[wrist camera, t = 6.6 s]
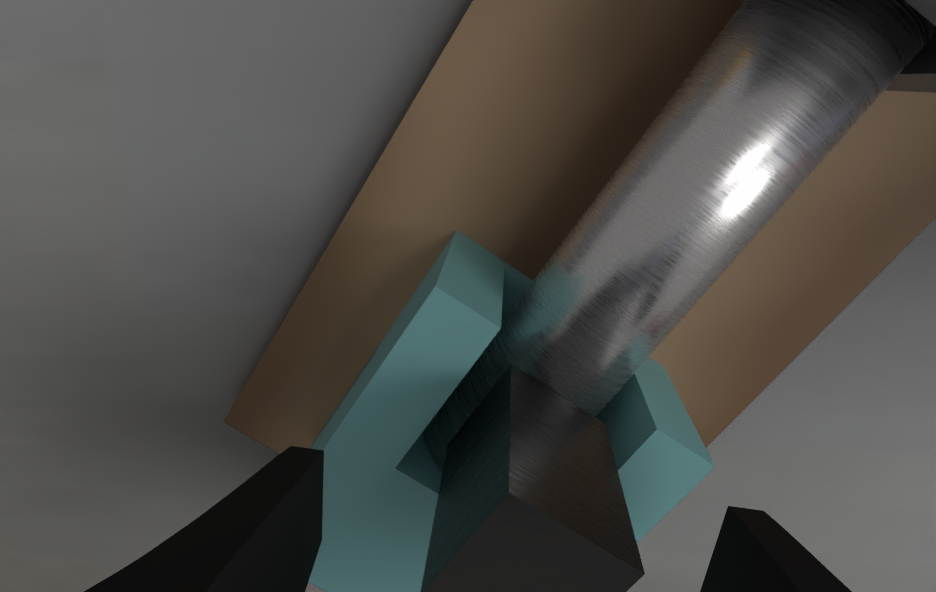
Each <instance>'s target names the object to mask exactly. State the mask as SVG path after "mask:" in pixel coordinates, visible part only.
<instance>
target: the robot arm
mask: <svg viewBox="0 0 936 592" xmlns="http://www.w3.org/2000/svg"><path fill="white" fill-rule="evenodd" d="M323 472H324V450H318V449H310V448H303V447H296V446H290V447H289V448H287V449H286V450H284V451H283V452H282V453H281V454H279V455H278V456H277V457H275V458H274V459H273V460H272V461H270V462H269V463H268V464H267V465H265V466H264V467H263V468H262V469H260V470H259V471H258V472H257V473H255V474H254V475H253V476H252V477H250V478H249V479H248V480H247V481H245V482H244V483H243V484H242V485H240V486H239V487H238V488H236V489H235V490H234V491H233V492H231V493H230V494H229V495H227V496H226V497H225V498H223V499H222V500H221V501H219V502H218V503H217V504H215V505H214V506H213V507H212V508H210V509H209V510H208V511H206V512H205V513H204V514H202V515H201V516H200V517H198V518H197V519H196V520H194V521H193V522H191V523H190V524H189V525H187V526H186V527H184V528H183V529H181V530H180V531H179V532H177V533H176V534H174V535H173V536H171V537H170V538H168V539H167V540H165V541H164V542H163V543H161V544H160V545H158V546H157V547H155V548H154V549H152V550H151V551H150V552H148V553H147V554H145V555H144V556H142V557H141V558H139V559H137V560H136V561H134V562H133V563H131V564H130V565H128V566H126V567H125V568H123V569H121V570H120V571H118V572H117V573H115V574H113V575H112V576H110V577H108V578H106V579H105V580H103V581H101V582H100V583H98V584H96V585H94V586H93V587H91V588H89V589H88V590H86V591H84V592H305V590H306V587H307V584H308V581H309V578H310V575H311V572H312V569H313V566H314V563H315V560H316V557H317V554H318V551H319V548H320V545H321V542H322V516H323ZM700 592H852V591H850V590H849V589H848V588H847V587H846V586H845V585H844V584H843V583H842V582H841V581H840V580H839V579H837V578H836V577H835V576H834V575H833V574H832V573H831V572H830V571H829V570H828V569H827V568H826V567H825V566H824V565H822V564H821V563H820V562H819V561H818V560H817V559H816V558H815V557H814V556H813V555H812V554H811V553H810V552H809V551H808V550H806V549H805V548H804V547H803V546H802V545H801V544H800V543H799V542H798V541H797V540H796V539H795V538H794V537H792V536H791V535H790V534H789V533H788V532H787V531H786V530H785V529H784V528H783V527H782V526H780V525H779V524H778V523H777V522H776V521H775V520H774V519H772V518H771V517H770V516H769V515H768V514H767V513H765V512H764V511H760V510H753V509H746V508H738V507H731V506H728V508H727V511H726V514H725V517H724V520H723V524H722V527H721V530H720V533H719V536H718V539H717V542H716V545H715V548H714V551H713V554H712V557H711V560H710V563H709V567H708V570H707V573H706V576H705V579H704V582H703V585H702V588H701V591H700Z"/></svg>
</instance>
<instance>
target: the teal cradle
mask: <svg viewBox="0 0 936 592" xmlns="http://www.w3.org/2000/svg"><path fill="white" fill-rule="evenodd" d="M532 282H533V280H532V279H530V278H529V277H527V276H526V275H524V274H523V273H521V272H520V271H518V270H517V269H515V268H514V267H512V266H511V265H509V264H508V263H506V262H505V261H503V260H502V259H500V258H499V257H497V256H496V255H494V254H493V253H491V252H490V251H488V250H487V249H485V248H483V247H482V246H480V245H479V244H477V243H476V242H474V241H473V240H471V239H470V238H468V237H467V236H465V235H464V234H462V233H461V232H459V231H458V230H456V232H455V233H454V235H453V236H452V238H451V239H450V241H449V242H448V244H447V245H446V247H445V248H444V250H443V251H442V253H441V254H440V255H439V257H438V258H437V260H436V261H435V263H434V264H433V266H432V267H431V269H430V270H429V272H428V273H427V275H426V276H425V278H424V279H423V281H422V282H421V284H420V285H419V287H418V288H417V290H416V291H415V293H414V294H413V296H412V297H411V298H410V300H409V301H408V303H407V304H406V306H405V307H404V309H403V310H402V312H401V313H400V315H399V316H398V318H397V319H396V321H395V322H394V324H393V325H392V327H391V328H390V330H389V331H388V333H387V334H386V336H385V337H384V338H383V340H382V341H381V343H380V344H379V346H378V347H377V349H376V350H375V352H374V353H373V355H372V356H371V358H370V359H369V361H368V362H367V364H366V365H365V367H364V368H363V370H362V371H361V373H360V374H359V376H358V377H357V378H356V380H355V381H354V383H353V384H352V386H351V387H350V389H349V390H348V392H347V393H346V395H345V396H344V398H343V399H342V401H341V402H340V404H339V405H338V407H337V408H336V410H335V411H334V413H333V414H332V416H331V417H330V418H329V420H328V421H327V423H326V424H325V426H324V427H323V429H322V430H321V432H320V433H319V435H318V436H317V438H316V439H315V441H314V442H313V444H312V446H311V448H310V449H318V450H324V472H323V516H322V542H321V545H320V548H319V551H318V554H317V557H316V560H315V563H314V566H313V569H312V572H311V575H310V578H309V581H308V582H309V583H311V584H313V585H315V586H317V587H318V588H320V589H322V590H324V591H326V592H421V586H422V581H423V575H424V570H425V564H426V559H427V554H428V548H429V543H430V537H431V532H432V526H433V521H434V515H435V510H436V505H437V499H438V494H439V488H440V483H441V477H442V472H443V469H442V468H441V467H440V465H439V464H438V463H437V461H436V460H435V458H434V456H433V454H432V452H431V450H430V448H429V446H428V443H427V439H426V427H427V425H428V424H429V423H430V421H431V420H432V419H433V417H434V416H435V415H436V413H437V412H438V411H439V410H440V408H441V407H442V406H443V404H444V403H445V402H446V400H447V399H448V398H449V396H450V395H451V394H452V392H453V391H454V390H455V388H456V387H457V386H458V384H459V383H460V382H461V380H462V379H463V378H464V376H465V375H466V374H467V373H468V371H469V370H470V369H471V367H472V366H473V365H474V363H475V362H476V361H477V359H478V358H479V357H480V355H481V354H482V353H483V351H484V350H485V349H486V347H487V346H488V345H489V343H490V342H491V341H492V339H493V338H494V337H495V336H496V334H497V333H498V332H499V330H500V329H501V323H502V322H503V320H504V319H505V318H506V316H507V315H508V314H509V312H510V311H511V310H512V308H513V307H514V306H515V304H516V303H517V302H518V300H519V299H520V298H521V296H522V295H523V294H524V292H525V291H526V290H527V288H528V287H529V286H530V284H531V283H532ZM596 418H597V419H599V420H601V421H602V422H604V423H605V424H606V428H607V432H608V435H609V439H610V443H611V447H612V451H613V455H614V458H615V462H616V466H617V470H618V474H619V478H620V481H621V485H622V489H623V493H624V497H625V501H626V504H627V508H628V512H629V516H630V520H631V524H632V527H633V531H634V535H635V539H636V543H638V542H639V541H640V540H641V539H642V538H643V537H644V536H645V535H646V534H647V533H648V532H649V531H650V530H651V529H652V528H653V527H654V526H655V525H656V524H657V523H658V522H659V521H660V520H661V519H662V518H663V517H664V516H665V515H666V514H667V513H668V512H669V511H670V510H671V509H672V508H673V507H674V506H675V505H676V504H677V503H678V502H679V501H680V500H681V499H682V498H684V497H685V496H686V495H687V494H688V493H689V492H690V491H691V490H692V489H693V488H694V487H695V486H696V485H697V484H698V483H699V482H700V481H701V480H702V479H703V478H704V477H705V476H706V475H707V474H708V473H709V472H710V471H711V470H712V469H713V468H714V467H715V465H714V463H713V461H712V459H711V457H710V455H709V453H708V451H707V449H706V448H705V446H704V444H703V442H702V440H701V438H700V436H699V434H698V432H697V430H696V428H695V426H694V424H693V422H692V420H691V418H690V416H689V414H688V412H687V411H686V409H685V407H684V405H683V403H682V401H681V399H680V397H679V395H678V393H677V391H676V389H675V387H674V385H673V383H672V381H671V379H670V377H669V376H668V374H667V372H666V370H665V368H664V367H663V366H662V365H660V364H658V363H657V362H655V361H654V360H652V359H651V358H649V357H648V358H647V360H646V361H645V362H644V363H643V364H642V365H641V366H640V367H639V369H638V370H637V371H636V372H635V373H634V374H633V375H632V377H631V378H630V379H629V380H628V381H627V382H626V383H625V384H624V386H623V387H622V388H621V389H620V390H619V391H618V392H617V393H616V395H615V396H614V397H613V398H612V399H611V400H610V401H609V403H608V404H607V405H606V406H605V407H604V408H603V409H602V410H601V412H600V413H599V414H598V415H597V416H596Z"/></svg>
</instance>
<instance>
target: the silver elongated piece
mask: <svg viewBox="0 0 936 592" xmlns="http://www.w3.org/2000/svg"><path fill="white" fill-rule="evenodd" d="M935 33H936V26H935V25H933V24H932V23H931V22H930V21H929V20H927V19H926V18H925V17H924V16H923V15H921V14H920V13H919V12H918V11H916V10H915V9H914V8H913V7H912V6H910V5H909V4H908V3H907V2H906V1H904V0H745V1H744V2H743V3H742V5H741V6H740V7H739V9H738V10H737V11H736V13H735V14H734V15H733V17H732V18H731V19H730V21H729V22H728V23H727V24H726V26H725V27H724V28H723V30H722V31H721V32H720V34H719V35H718V36H717V38H716V39H715V40H714V42H713V43H712V44H711V46H710V47H709V48H708V50H707V51H706V52H705V54H704V55H703V56H702V58H701V59H700V60H699V62H698V63H697V64H696V66H695V67H694V68H693V70H692V71H691V72H690V74H689V75H688V76H687V78H686V79H685V80H684V82H683V83H682V84H681V85H680V87H679V88H678V89H677V91H676V92H675V93H674V95H673V96H672V97H671V99H670V100H669V101H668V103H667V104H666V105H665V107H664V108H663V109H662V111H661V112H660V113H659V115H658V116H657V117H656V119H655V120H654V121H653V123H652V124H651V125H650V127H649V128H648V129H647V131H646V132H645V133H644V135H643V136H642V137H641V139H640V140H639V141H638V143H637V144H636V145H635V146H634V148H633V149H632V150H631V152H630V153H629V154H628V156H627V157H626V158H625V160H624V161H623V162H622V164H621V165H620V166H619V168H618V169H617V170H616V172H615V173H614V174H613V176H612V177H611V178H610V180H609V181H608V182H607V184H606V185H605V186H604V188H603V189H602V190H601V192H600V193H599V194H598V196H597V197H596V198H595V200H594V201H593V202H592V204H591V205H590V206H589V207H588V209H587V210H586V211H585V213H584V214H583V215H582V217H581V218H580V219H579V221H578V222H577V223H576V225H575V226H574V227H573V229H572V230H571V231H570V233H569V234H568V235H567V237H566V238H565V239H564V241H563V242H562V243H561V245H560V246H559V247H558V249H557V250H556V251H555V253H554V254H553V255H552V257H551V258H550V259H549V261H548V262H547V263H546V265H545V266H544V267H543V268H542V270H541V271H540V272H539V274H538V275H537V276H536V278H535V279H534V280H533V282H532V283H531V284H530V286H529V287H528V288H527V290H526V291H525V292H524V294H523V295H522V296H521V298H520V299H519V300H518V302H517V303H516V304H515V306H514V307H513V308H512V310H511V311H510V312H509V314H508V315H507V316H506V318H505V319H504V320H503V322H502V323H501V329H500V330H499V332H498V333H497V334H496V336H495V337H494V338H493V339H492V341H491V342H490V343H489V345H488V346H487V347H486V349H485V350H484V351H483V353H482V354H481V355H480V357H479V358H478V359H477V361H476V362H475V363H474V365H473V366H472V367H471V369H470V370H469V371H468V373H467V374H466V375H465V376H464V378H463V379H462V380H461V382H460V383H459V384H458V386H457V387H456V388H455V390H454V391H453V392H452V394H451V395H450V396H449V398H448V399H447V400H446V402H445V403H444V404H443V406H442V407H441V408H440V410H439V411H438V412H437V413H436V415H435V416H434V417H433V419H432V420H431V421H430V423H429V424H428V425H427V427H426V439H427V443H428V446H429V448H430V450H431V452H432V454H433V456H434V458H435V460H436V461H437V463H438V464H439V465H440V467H441V468H442V469H443V472H442V477H441V483H440V488H439V494H438V499H437V505H436V510H435V515H434V521H433V526H432V532H431V537H430V543H429V548H428V554H427V559H426V564H425V570H424V575H423V581H422V586H421V592H626V591H627V590H628V589H629V588H630V587H631V586H633V585H634V584H635V583H636V582H637V581H638V580H639V579H640V578H641V577H642V576H643V575H644V574H645V573H644V570H643V566H642V562H641V558H640V554H639V550H638V547H637V543H636V539H635V535H634V531H633V527H632V524H631V520H630V516H629V512H628V508H627V504H626V501H625V497H624V493H623V489H622V485H621V481H620V478H619V474H618V470H617V466H616V462H615V458H614V455H613V451H612V447H611V443H610V439H609V435H608V432H607V428H606V424H605V423H604V422H602V421H601V420H599V419H597V418H596V416H597V415H598V414H599V413H600V412H601V410H602V409H603V408H604V407H605V406H606V405H607V404H608V403H609V401H610V400H611V399H612V398H613V397H614V396H615V395H616V393H617V392H618V391H619V390H620V389H621V388H622V387H623V386H624V384H625V383H626V382H627V381H628V380H629V379H630V378H631V377H632V375H633V374H634V373H635V372H636V371H637V370H638V369H639V367H640V366H641V365H642V364H643V363H644V362H645V361H646V360H647V358H648V357H649V356H650V355H651V354H652V353H653V352H654V351H655V349H656V348H657V347H658V346H659V345H660V344H661V343H662V342H663V340H664V339H665V338H666V337H667V336H668V335H669V334H670V332H671V331H672V330H673V329H674V328H675V327H676V326H677V325H678V323H679V322H680V321H681V320H682V319H683V318H684V317H685V316H686V314H687V313H688V312H689V311H690V310H691V309H692V308H693V306H694V305H695V304H696V303H697V302H698V301H699V300H700V299H701V297H702V296H703V295H704V294H705V293H706V292H707V291H708V290H709V288H710V287H711V286H712V285H713V284H714V283H715V282H716V280H717V279H718V278H719V277H720V276H721V275H722V274H723V273H724V271H725V270H726V269H727V268H728V267H729V266H730V265H731V264H732V262H733V261H734V260H735V259H736V258H737V257H738V256H739V255H740V253H741V252H742V251H743V250H744V249H745V248H746V247H747V245H748V244H749V243H750V242H751V241H752V240H753V239H754V238H755V236H756V235H757V234H758V233H759V232H760V231H761V230H762V229H763V227H764V226H765V225H766V224H767V223H768V222H769V221H770V219H771V218H772V217H773V216H774V215H775V214H776V213H777V212H778V210H779V209H780V208H781V207H782V206H783V205H784V204H785V203H786V201H787V200H788V199H789V198H790V197H791V196H792V195H793V193H794V192H795V191H796V190H797V189H798V188H799V187H800V186H801V184H802V183H803V182H804V181H805V180H806V179H807V178H808V177H809V175H810V174H811V173H812V172H813V171H814V170H815V169H816V167H817V166H818V165H819V164H820V163H821V162H822V161H823V160H824V158H825V157H826V156H827V155H828V154H829V153H830V152H831V151H832V149H833V148H834V147H835V146H836V145H837V144H838V143H839V142H840V140H841V139H842V138H843V137H844V136H845V135H846V134H847V132H848V131H849V130H850V129H851V128H852V127H853V126H854V125H855V123H856V122H857V121H858V120H859V119H860V118H861V117H862V116H863V114H864V113H865V112H866V111H867V110H868V109H869V108H870V106H871V105H872V104H873V103H874V102H875V101H876V100H877V99H878V97H879V96H880V95H881V94H882V93H883V92H884V91H885V90H886V88H887V87H888V86H889V85H890V84H891V83H892V82H893V80H894V79H895V78H896V77H897V76H898V75H899V74H900V73H901V71H902V70H903V69H904V68H905V67H906V66H907V65H908V64H909V62H910V61H911V60H912V59H913V58H914V57H915V56H916V54H917V53H918V52H919V51H920V50H921V49H922V48H923V47H924V45H925V44H926V43H927V42H928V41H929V40H930V39H931V38H932V36H933V35H934V34H935Z"/></svg>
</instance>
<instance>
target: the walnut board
mask: <svg viewBox="0 0 936 592" xmlns="http://www.w3.org/2000/svg"><path fill="white" fill-rule="evenodd" d="M744 1H745V0H473V1H472V3H471V5H470V6H469V8H468V10H467V11H466V13H465V15H464V16H463V18H462V20H461V21H460V23H459V25H458V27H457V28H456V30H455V32H454V33H453V35H452V37H451V38H450V40H449V42H448V43H447V45H446V47H445V48H444V50H443V52H442V54H441V55H440V57H439V59H438V60H437V62H436V64H435V65H434V67H433V69H432V70H431V72H430V74H429V75H428V77H427V79H426V81H425V82H424V84H423V86H422V87H421V89H420V91H419V92H418V94H417V96H416V97H415V99H414V101H413V103H412V104H411V106H410V108H409V109H408V111H407V113H406V114H405V116H404V118H403V119H402V121H401V123H400V124H399V126H398V128H397V130H396V131H395V133H394V135H393V136H392V138H391V140H390V141H389V143H388V145H387V146H386V148H385V150H384V151H383V153H382V155H381V157H380V158H379V160H378V162H377V163H376V165H375V167H374V168H373V170H372V172H371V173H370V175H369V177H368V178H367V180H366V182H365V184H364V185H363V187H362V189H361V190H360V192H359V194H358V195H357V197H356V199H355V200H354V202H353V204H352V206H351V207H350V209H349V211H348V212H347V214H346V216H345V217H344V219H343V221H342V222H341V224H340V226H339V227H338V229H337V231H336V233H335V234H334V236H333V238H332V239H331V241H330V243H329V244H328V246H327V248H326V249H325V251H324V253H323V254H322V256H321V258H320V260H319V261H318V263H317V265H316V266H315V268H314V270H313V271H312V273H311V275H310V276H309V278H308V280H307V281H306V283H305V285H304V287H303V288H302V290H301V292H300V293H299V295H298V297H297V298H296V300H295V302H294V303H293V305H292V307H291V309H290V310H289V312H288V314H287V315H286V317H285V319H284V320H283V322H282V324H281V325H280V327H279V329H278V330H277V332H276V334H275V336H274V337H273V339H272V341H271V342H270V344H269V346H268V347H267V349H266V351H265V352H264V354H263V356H262V357H261V359H260V361H259V363H258V364H257V366H256V368H255V369H254V371H253V373H252V374H251V376H250V378H249V379H248V381H247V383H246V384H245V386H244V388H243V390H242V391H241V393H240V395H239V396H238V398H237V400H236V401H235V403H234V405H233V406H232V408H231V410H230V412H229V413H228V415H227V417H226V418H225V420H224V422H225V423H226V424H228V425H230V426H231V427H233V428H235V429H237V430H238V431H240V432H242V433H244V434H245V435H247V436H249V437H251V438H252V439H254V440H256V441H258V442H259V443H261V444H263V445H265V446H266V447H268V448H270V449H271V450H273V451H275V452H277V453H278V454H281V453H282V452H283V451H284V450H286V449H287V448H289V447H290V446H296V447H303V448H311V446H312V444H313V442H314V441H315V439H316V438H317V436H318V435H319V433H320V432H321V430H322V429H323V427H324V426H325V424H326V423H327V421H328V420H329V418H330V417H331V416H332V414H333V413H334V411H335V410H336V408H337V407H338V405H339V404H340V402H341V401H342V399H343V398H344V396H345V395H346V393H347V392H348V390H349V389H350V387H351V386H352V384H353V383H354V381H355V380H356V378H357V377H358V376H359V374H360V373H361V371H362V370H363V368H364V367H365V365H366V364H367V362H368V361H369V359H370V358H371V356H372V355H373V353H374V352H375V350H376V349H377V347H378V346H379V344H380V343H381V341H382V340H383V338H384V337H385V336H386V334H387V333H388V331H389V330H390V328H391V327H392V325H393V324H394V322H395V321H396V319H397V318H398V316H399V315H400V313H401V312H402V310H403V309H404V307H405V306H406V304H407V303H408V301H409V300H410V298H411V297H412V296H413V294H414V293H415V291H416V290H417V288H418V287H419V285H420V284H421V282H422V281H423V279H424V278H425V276H426V275H427V273H428V272H429V270H430V269H431V267H432V266H433V264H434V263H435V261H436V260H437V258H438V257H439V255H440V254H441V253H442V251H443V250H444V248H445V247H446V245H447V244H448V242H449V241H450V239H451V238H452V236H453V235H454V233H455V232H456V230H458V231H459V232H461V233H462V234H464V235H465V236H467V237H468V238H470V239H471V240H473V241H474V242H476V243H477V244H479V245H480V246H482V247H483V248H485V249H487V250H488V251H490V252H491V253H493V254H494V255H496V256H497V257H499V258H500V259H502V260H503V261H505V262H506V263H508V264H509V265H511V266H512V267H514V268H515V269H517V270H518V271H520V272H521V273H523V274H524V275H526V276H527V277H529V278H530V279H532V280H534V279H535V278H536V276H537V275H538V274H539V272H540V271H541V270H542V268H543V267H544V266H545V265H546V263H547V262H548V261H549V259H550V258H551V257H552V255H553V254H554V253H555V251H556V250H557V249H558V247H559V246H560V245H561V243H562V242H563V241H564V239H565V238H566V237H567V235H568V234H569V233H570V231H571V230H572V229H573V227H574V226H575V225H576V223H577V222H578V221H579V219H580V218H581V217H582V215H583V214H584V213H585V211H586V210H587V209H588V207H589V206H590V205H591V204H592V202H593V201H594V200H595V198H596V197H597V196H598V194H599V193H600V192H601V190H602V189H603V188H604V186H605V185H606V184H607V182H608V181H609V180H610V178H611V177H612V176H613V174H614V173H615V172H616V170H617V169H618V168H619V166H620V165H621V164H622V162H623V161H624V160H625V158H626V157H627V156H628V154H629V153H630V152H631V150H632V149H633V148H634V146H635V145H636V144H637V143H638V141H639V140H640V139H641V137H642V136H643V135H644V133H645V132H646V131H647V129H648V128H649V127H650V125H651V124H652V123H653V121H654V120H655V119H656V117H657V116H658V115H659V113H660V112H661V111H662V109H663V108H664V107H665V105H666V104H667V103H668V101H669V100H670V99H671V97H672V96H673V95H674V93H675V92H676V91H677V89H678V88H679V87H680V85H681V84H682V83H683V82H684V80H685V79H686V78H687V76H688V75H689V74H690V72H691V71H692V70H693V68H694V67H695V66H696V64H697V63H698V62H699V60H700V59H701V58H702V56H703V55H704V54H705V52H706V51H707V50H708V48H709V47H710V46H711V44H712V43H713V42H714V40H715V39H716V38H717V36H718V35H719V34H720V32H721V31H722V30H723V28H724V27H725V26H726V24H727V23H728V22H729V21H730V19H731V18H732V17H733V15H734V14H735V13H736V11H737V10H738V9H739V7H740V6H741V5H742V3H743V2H744ZM935 217H936V93H934V92H907V91H884V92H883V93H882V94H881V95H880V96H879V97H878V99H877V100H876V101H875V102H874V103H873V104H872V105H871V106H870V108H869V109H868V110H867V111H866V112H865V113H864V114H863V116H862V117H861V118H860V119H859V120H858V121H857V122H856V123H855V125H854V126H853V127H852V128H851V129H850V130H849V131H848V132H847V134H846V135H845V136H844V137H843V138H842V139H841V140H840V142H839V143H838V144H837V145H836V146H835V147H834V148H833V149H832V151H831V152H830V153H829V154H828V155H827V156H826V157H825V158H824V160H823V161H822V162H821V163H820V164H819V165H818V166H817V167H816V169H815V170H814V171H813V172H812V173H811V174H810V175H809V177H808V178H807V179H806V180H805V181H804V182H803V183H802V184H801V186H800V187H799V188H798V189H797V190H796V191H795V192H794V193H793V195H792V196H791V197H790V198H789V199H788V200H787V201H786V203H785V204H784V205H783V206H782V207H781V208H780V209H779V210H778V212H777V213H776V214H775V215H774V216H773V217H772V218H771V219H770V221H769V222H768V223H767V224H766V225H765V226H764V227H763V229H762V230H761V231H760V232H759V233H758V234H757V235H756V236H755V238H754V239H753V240H752V241H751V242H750V243H749V244H748V245H747V247H746V248H745V249H744V250H743V251H742V252H741V253H740V255H739V256H738V257H737V258H736V259H735V260H734V261H733V262H732V264H731V265H730V266H729V267H728V268H727V269H726V270H725V271H724V273H723V274H722V275H721V276H720V277H719V278H718V279H717V280H716V282H715V283H714V284H713V285H712V286H711V287H710V288H709V290H708V291H707V292H706V293H705V294H704V295H703V296H702V297H701V299H700V300H699V301H698V302H697V303H696V304H695V305H694V306H693V308H692V309H691V310H690V311H689V312H688V313H687V314H686V316H685V317H684V318H683V319H682V320H681V321H680V322H679V323H678V325H677V326H676V327H675V328H674V329H673V330H672V331H671V332H670V334H669V335H668V336H667V337H666V338H665V339H664V340H663V342H662V343H661V344H660V345H659V346H658V347H657V348H656V349H655V351H654V352H653V353H652V354H651V355H650V356H649V358H651V359H652V360H654V361H655V362H657V363H658V364H660V365H662V366H663V367H664V368H665V370H666V372H667V374H668V376H669V377H670V379H671V381H672V383H673V385H674V387H675V389H676V391H677V393H678V395H679V397H680V399H681V401H682V403H683V405H684V407H685V409H686V411H687V412H688V414H689V416H690V418H691V420H692V422H693V424H694V426H695V428H696V430H697V432H698V434H699V436H700V438H701V440H702V442H703V444H704V446H705V448H706V447H707V446H708V445H709V444H710V443H711V442H712V441H713V440H714V439H715V438H716V437H717V436H718V435H719V434H720V433H721V432H722V431H723V430H724V429H725V428H726V427H727V426H728V425H729V424H730V423H731V422H732V421H733V420H734V419H735V418H736V417H737V416H738V415H739V414H740V413H741V412H742V411H743V410H744V409H745V408H746V407H747V406H748V405H749V404H750V403H751V402H752V401H753V400H754V399H755V398H756V397H757V396H758V395H759V394H760V393H761V392H762V391H763V390H764V389H765V388H766V387H767V386H768V385H769V384H770V383H771V382H772V381H773V380H774V379H775V378H776V377H777V376H778V375H779V374H780V373H781V372H782V371H783V370H784V369H785V368H786V367H787V366H788V365H789V364H790V363H791V362H792V361H793V360H794V359H795V358H796V357H797V356H798V355H799V354H800V353H801V352H802V351H803V350H804V349H805V348H806V347H807V346H808V345H809V344H810V343H811V342H812V341H813V340H814V339H815V338H816V337H817V336H818V335H819V334H820V333H821V332H822V331H823V330H824V329H825V328H826V327H827V326H828V325H829V324H830V323H831V322H832V321H833V320H834V319H835V318H836V317H837V316H838V315H839V314H840V313H841V312H842V311H843V310H844V309H845V308H846V307H847V306H848V305H849V304H850V303H851V302H852V301H853V300H854V299H855V298H856V297H857V296H858V295H859V294H860V293H861V292H862V291H863V290H864V289H865V288H866V287H867V286H868V285H869V284H870V283H871V282H872V281H873V280H874V279H875V278H876V277H877V276H878V275H879V274H880V273H881V272H882V271H883V270H884V269H885V268H886V267H887V266H888V265H889V264H890V263H891V262H892V261H893V260H894V259H895V258H896V257H897V256H898V255H899V254H900V253H901V251H902V250H903V249H904V248H905V247H906V246H907V245H908V244H909V243H910V242H911V241H912V240H913V239H914V238H915V237H916V236H917V235H918V234H919V233H920V232H921V231H922V230H923V229H924V228H925V227H926V226H927V225H928V224H929V223H930V222H931V221H932V220H933V219H934V218H935Z"/></svg>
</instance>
